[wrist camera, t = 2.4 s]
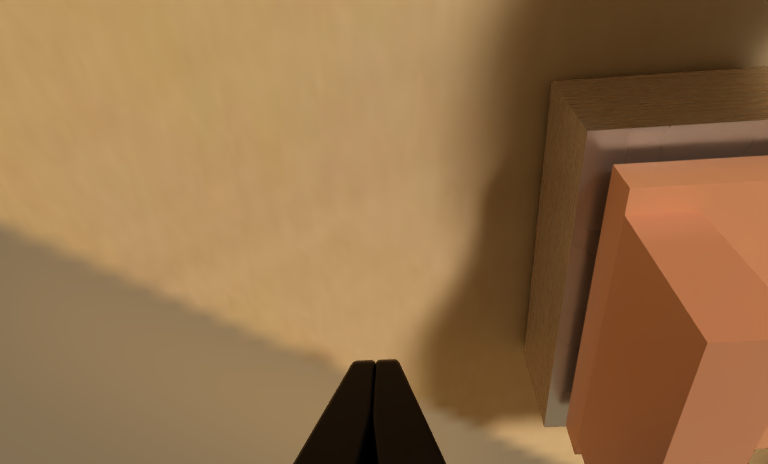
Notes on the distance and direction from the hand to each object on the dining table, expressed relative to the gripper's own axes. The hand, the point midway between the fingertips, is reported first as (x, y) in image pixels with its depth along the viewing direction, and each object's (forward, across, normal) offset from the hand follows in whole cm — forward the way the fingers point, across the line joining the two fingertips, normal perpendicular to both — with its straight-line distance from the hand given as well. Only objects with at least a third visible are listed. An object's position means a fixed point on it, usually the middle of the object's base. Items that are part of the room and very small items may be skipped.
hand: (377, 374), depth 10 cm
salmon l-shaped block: (+1, -8, 0) cm, 8 cm away
